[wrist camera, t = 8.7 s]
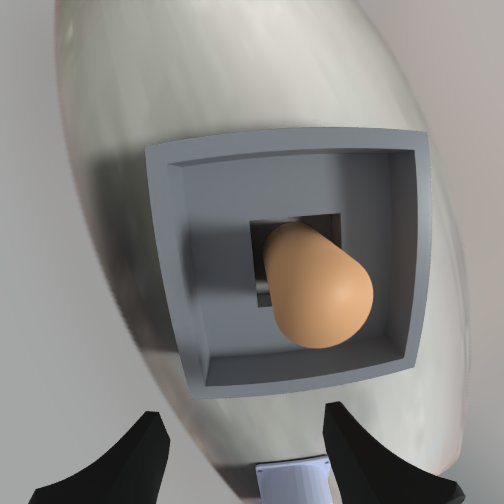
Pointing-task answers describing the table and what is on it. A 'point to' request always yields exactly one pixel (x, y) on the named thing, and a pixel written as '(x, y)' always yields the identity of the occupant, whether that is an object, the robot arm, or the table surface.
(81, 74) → the table surface
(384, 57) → the table surface
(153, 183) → the box
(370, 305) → the peg
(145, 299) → the table surface
